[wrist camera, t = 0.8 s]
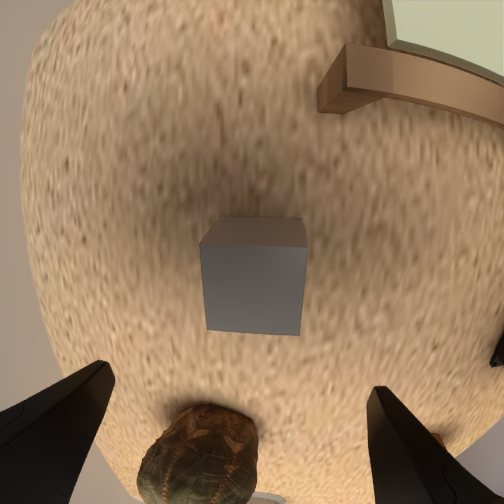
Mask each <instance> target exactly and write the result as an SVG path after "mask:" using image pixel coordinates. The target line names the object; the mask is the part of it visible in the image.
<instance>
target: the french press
mask: <svg viewBox="0 0 504 504" xmlns="http://www.w3.org/2000/svg"><path fill="white" fill-rule="evenodd" d="M285 502H286V500H285V498H283V497H281V496H278V495H274V494H270V493H262V492H254V493H253V494H252V496H251V498H250V500H249V501H248V503H247V504H284V503H285Z"/></svg>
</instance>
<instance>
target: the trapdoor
mask: <svg viewBox="0 0 504 504" xmlns="http://www.w3.org/2000/svg"><path fill="white" fill-rule="evenodd" d="M382 4H383V10H384V18H385V26H386V34H387V44H388V47H390V48H395V49H399V50H403V51H408V52H412V53H416V54H419V55H423V56H427V57H430V58H434V59H437V60H440V61H443V62H446V63H449V64H452V65H455V66H458V67H461V68H464V69H466V70H469V71H472V72H474V73H477V74H479V75H482V76H484V77H486V78H489V79H491V80H493V81H495V82H498V83H500V84H502V85H504V0H382Z"/></svg>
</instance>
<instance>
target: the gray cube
mask: <svg viewBox="0 0 504 504" xmlns="http://www.w3.org/2000/svg"><path fill="white" fill-rule="evenodd" d="M199 247H200V260H201V272H202V284H203V295H204V306H205V315H206V325H207V330H215V331H226V332H239V333H253V334H270V335H291V336H300V327H301V317H302V307H303V296H304V285H305V273H306V260H307V242H306V237H305V231H304V226H303V220H302V219H298V218H270V217H231V216H221V217H220V219H219V220H218V221H217V222H216V223H215V225H214V226H213V227H212V228H211V230H210V231H209V232H208V233H207V235H206V236H205V237H204V238H203V239H202V241H201V242H200V243H199Z"/></svg>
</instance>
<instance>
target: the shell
mask: <svg viewBox="0 0 504 504" xmlns="http://www.w3.org/2000/svg"><path fill="white" fill-rule="evenodd" d="M257 461H258V435H257V433H256V431H255V429H254V423H253V422H252V420H251V419H250V418H248V417H245V416H243V415H241V414H238V413H235V412H232V411H229V410H227V409H224V408H221V407H217V406H211V405H200V406H195V407H191V408H190V409H188V410H182V411H180V413H179V414H178V415H177V416H176V418H175V419H174V420H173V422H172V424H171V425H170V426H169V428H168V429H167V430H165V431H164V432H163V434H162V435H161V437H160V438H158V439H156V442H155V443H154V444H153V445H152V446H151V447H150V448H149V449H148V450H147V453H146V455H145V457H144V458H143V459H142V463H141V466H140V469H139V472H138V476H137V487H138V491H139V494H140V495H141V497H142V499H143V500H144V502H145V503H146V504H247V503H248V501H249V500H250V498H251V496H252V494H253V493H254V491H255V488H256V484H257V469H256V468H257Z"/></svg>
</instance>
